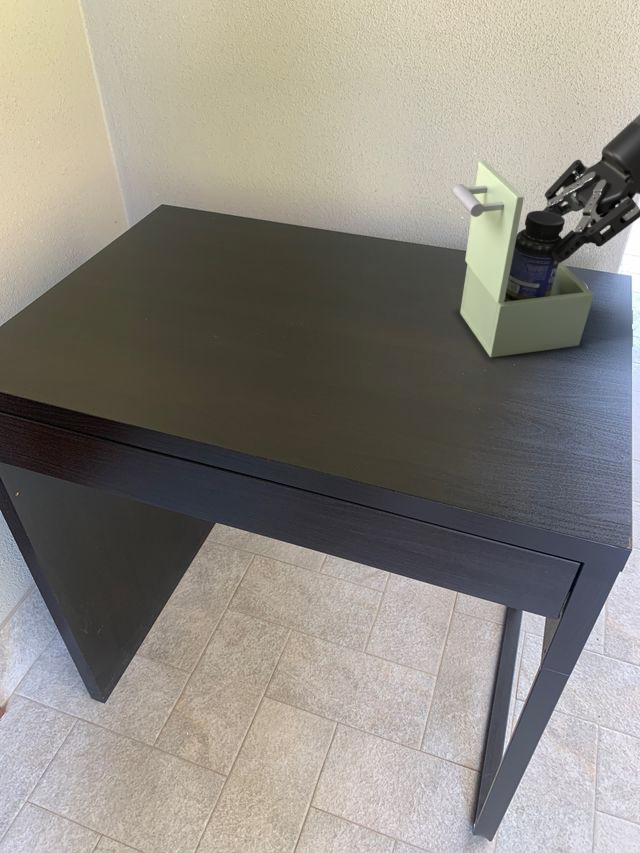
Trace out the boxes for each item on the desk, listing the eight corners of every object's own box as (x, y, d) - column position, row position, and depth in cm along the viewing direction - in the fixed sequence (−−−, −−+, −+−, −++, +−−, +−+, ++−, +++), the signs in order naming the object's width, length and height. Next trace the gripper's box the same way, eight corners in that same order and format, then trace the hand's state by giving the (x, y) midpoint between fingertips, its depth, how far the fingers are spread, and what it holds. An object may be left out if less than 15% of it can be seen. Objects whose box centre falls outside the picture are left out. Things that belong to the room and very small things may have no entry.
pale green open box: (541, 302, 101) (553, 254, 96) (579, 345, 93) (594, 294, 87) (460, 313, 99) (467, 263, 94) (490, 357, 91) (500, 306, 85)
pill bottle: (551, 309, 90) (575, 229, 83) (505, 305, 90) (525, 225, 83) (543, 287, 94) (565, 210, 87) (499, 283, 95) (517, 206, 88)
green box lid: (485, 160, 85) (447, 164, 84) (524, 196, 76) (482, 201, 76) (470, 260, 94) (436, 264, 93) (504, 302, 85) (466, 307, 85)
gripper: (608, 103, 85) (502, 205, 91) (676, 143, 74) (552, 255, 80) (634, 143, 89) (532, 238, 95) (703, 186, 78) (583, 289, 84)
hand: (542, 245), depth 88 cm, fingers closed on pill bottle, 6 cm apart
